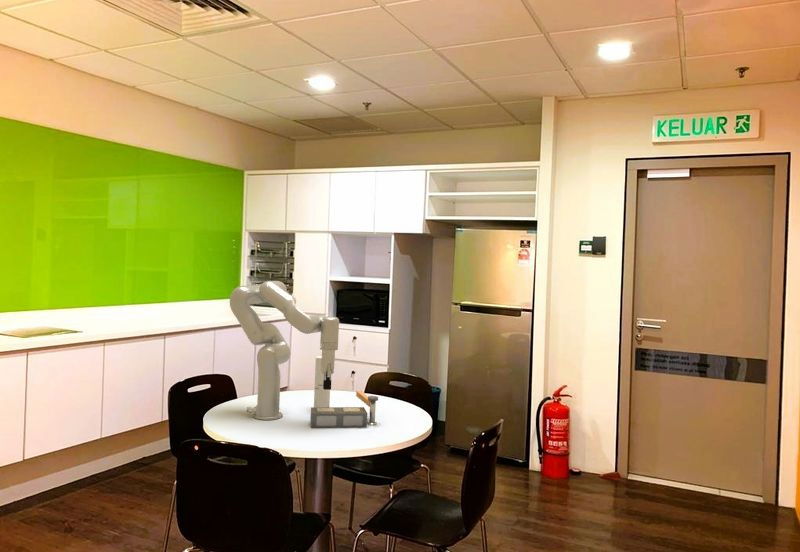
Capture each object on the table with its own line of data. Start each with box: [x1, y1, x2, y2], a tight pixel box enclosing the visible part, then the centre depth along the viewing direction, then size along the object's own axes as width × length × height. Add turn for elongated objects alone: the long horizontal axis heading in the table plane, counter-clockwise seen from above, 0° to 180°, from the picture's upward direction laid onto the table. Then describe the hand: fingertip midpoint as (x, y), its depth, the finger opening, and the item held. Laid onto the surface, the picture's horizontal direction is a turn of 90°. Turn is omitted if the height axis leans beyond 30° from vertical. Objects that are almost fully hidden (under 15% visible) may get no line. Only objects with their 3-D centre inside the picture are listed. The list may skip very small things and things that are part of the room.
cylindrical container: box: [313, 355, 331, 407], centre depth 279 cm, size 7×7×25 cm
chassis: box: [310, 406, 368, 429], centre depth 256 cm, size 23×11×6 cm, turn 101°
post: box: [367, 401, 378, 426], centre depth 259 cm, size 4×4×10 cm
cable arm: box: [355, 390, 379, 408], centre depth 270 cm, size 26×4×5 cm, turn 19°
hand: (327, 389), depth 256 cm, fingers closed
